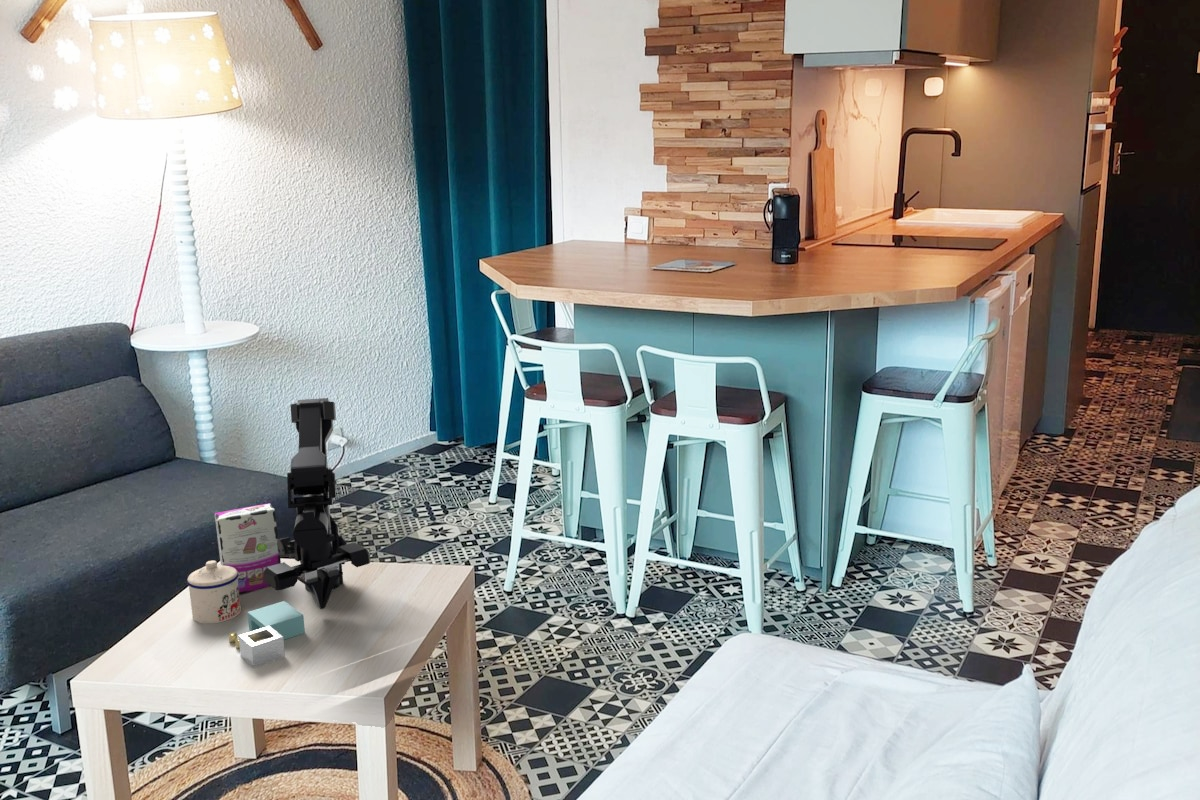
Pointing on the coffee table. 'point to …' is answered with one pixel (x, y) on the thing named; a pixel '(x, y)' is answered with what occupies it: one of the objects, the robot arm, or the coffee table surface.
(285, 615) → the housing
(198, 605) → the teacup with lid
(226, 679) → the coffee table surface
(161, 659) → the coffee table surface
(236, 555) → the candy bar box
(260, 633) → the hollow square metal block
